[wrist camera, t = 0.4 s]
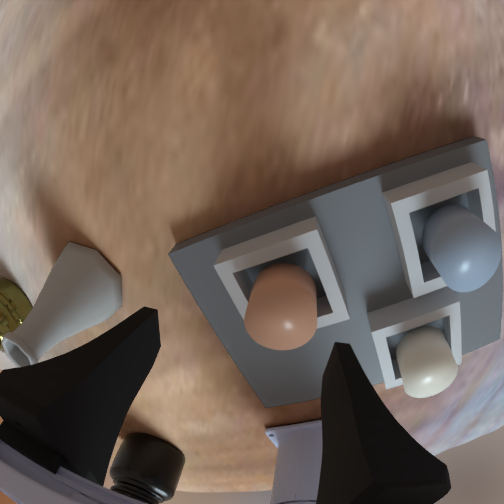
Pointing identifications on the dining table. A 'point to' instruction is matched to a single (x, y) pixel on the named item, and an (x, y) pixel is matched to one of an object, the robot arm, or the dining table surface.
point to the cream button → (425, 362)
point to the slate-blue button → (461, 247)
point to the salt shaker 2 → (11, 308)
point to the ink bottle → (146, 469)
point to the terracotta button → (282, 307)
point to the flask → (66, 304)
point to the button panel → (351, 270)
